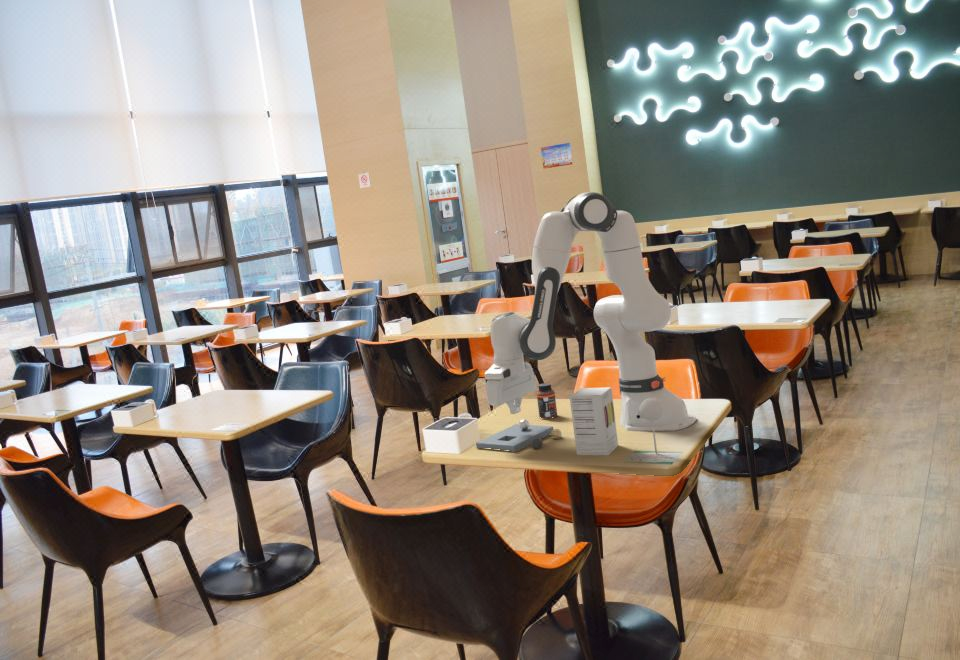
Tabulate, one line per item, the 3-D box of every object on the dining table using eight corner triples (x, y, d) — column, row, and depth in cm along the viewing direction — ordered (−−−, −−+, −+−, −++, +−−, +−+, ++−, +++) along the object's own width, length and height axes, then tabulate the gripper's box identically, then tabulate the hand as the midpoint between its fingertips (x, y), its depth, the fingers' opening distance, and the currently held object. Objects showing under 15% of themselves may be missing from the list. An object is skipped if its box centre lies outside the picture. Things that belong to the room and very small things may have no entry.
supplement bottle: (552, 420, 257) (548, 386, 256) (536, 420, 260) (532, 386, 259) (560, 415, 262) (556, 382, 261) (544, 415, 265) (540, 382, 264)
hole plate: (516, 431, 249) (515, 424, 249) (554, 434, 240) (553, 426, 240) (477, 451, 234) (475, 442, 234) (515, 454, 225) (514, 446, 225)
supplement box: (609, 456, 211) (601, 395, 209) (576, 456, 215) (568, 396, 213) (619, 445, 220) (612, 386, 218) (587, 445, 224) (580, 387, 222)
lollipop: (640, 457, 207) (634, 401, 205) (649, 450, 212) (643, 395, 210) (663, 458, 203) (657, 401, 202) (671, 451, 208) (665, 395, 206)
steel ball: (532, 428, 241) (530, 418, 240) (525, 431, 238) (524, 421, 238) (523, 428, 243) (522, 417, 242) (517, 431, 240) (515, 420, 240)
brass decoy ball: (564, 438, 235) (563, 427, 234) (558, 441, 232) (557, 430, 232) (555, 437, 237) (554, 427, 236) (549, 440, 234) (548, 430, 234)
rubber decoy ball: (545, 448, 227) (544, 437, 227) (539, 451, 224) (537, 440, 224) (536, 447, 229) (534, 436, 229) (530, 451, 227) (528, 440, 226)
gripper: (521, 360, 246) (527, 403, 248) (480, 375, 230) (486, 421, 232) (538, 360, 242) (543, 404, 244) (497, 375, 226) (503, 422, 228)
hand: (515, 412), depth 238 cm, fingers closed
